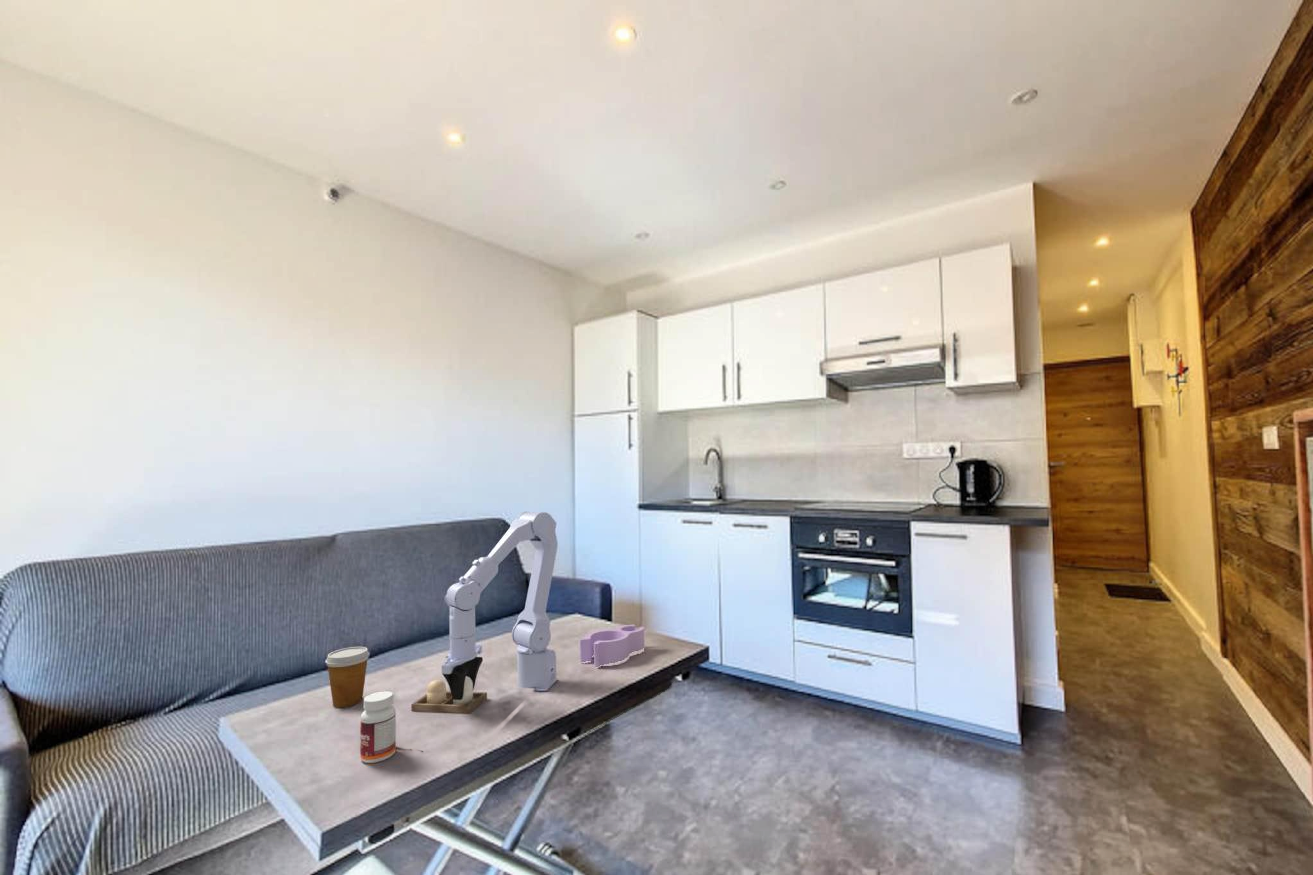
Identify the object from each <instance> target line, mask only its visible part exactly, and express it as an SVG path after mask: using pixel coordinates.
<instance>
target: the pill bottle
mask: <svg viewBox="0 0 1313 875" xmlns="http://www.w3.org/2000/svg"><path fill="white" fill-rule="evenodd" d="M393 704H394V693H393V692H392V691H387V690H385V691H377V692H374V693H370V694H368V695H367V696H365V697H364V698H363V709H364V710H363V712H362V713H361V715H360V724H359V725H360V727H359V728H360V732H359V733H360V736H359V737H360V738H359V739H360V740H359V741H360V742H359V743H360V745H359V746H360V747H359V750H360V751H359V753H360V756H359V758H360V760H361V762H363V763H366V764H374V763H379V762H382V761H385V760H388V759H389V758H391V757H392V756H393V755H394V754H395V753H396V749H397V748H396V744H397V743H396V742H397V741H396V736H397V735H396V734H397V733H396V732H397V731H396V730H397V728H396V726H397V723H396V722H397V721H396V720H397V718H396V713H397V711H396V708H395V706H393Z"/></svg>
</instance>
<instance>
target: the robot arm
mask: <svg viewBox="0 0 1313 875" xmlns="http://www.w3.org/2000/svg"><path fill="white" fill-rule="evenodd" d="M556 528H557V521H556V520H555V519H554V518H553V516H552V514H550V513H548V512H544V511H542V512H535V511H533V512H532V511H523V512H521V513H520V514H519V515H518V516H517V517H516V518H515V519H514V520H513V521H512V522H511V523H510V527H509V528H508V530H507V531H506V532H505V533H504V534H503V536H502V537H501V538H500V540H499V541H498V542H497V544H496V545H495V546H494V547H493V548H492V549H491V551H490V552H489V554H488V555H487V556H482V557H479V558H478V559H474V561H472V562H471V564H472V566H471V567H470V568H469V569H468V570H467V572H466V573H465V574H464V575H462V576H460V577H459V579H458V581H459V582H456V583H453V584H452V585H451V586H450V587H448V589H447V591H446V595H444V602H445V604H447V606H448V607H449V609H448V610H449V616H448V617H449V619H448V620H449V653H447V654H445V659H446V661H445V662H444V663H443V664H441V675H442V676H443V677H444V678H445V680H446V683H447V684H448V687H449V690H450V691H451V694H452V698H453V700H461V699H462V698H463V694H464V683H465V678H466V676H467V677H469V678H470V679H471V680H472V683H473V691H474V689H475V686H476V680H477V677H478V676H477V675H478V673H479V670H480V667H481V665H482V663H483V660H484V658H483V657H482V656H478V655H481V654H482V653H483V644H476V606H477V605H478V604H479V602H480V599H481V598H480V597H481V594H482V592H483V590H485V589H486V587H487V586H488V584H490V582H491V581H492V580H493V579H494V578H495V577H496V575H497V574H498V573H499V565H500V564H501V562H503V560H504V559H505V558H506V557H507V556H508V555H509V554H510V553H511V552H512V551H513V550H514V549H516V546H518V545H519V544H520V543H522V542H525V541H529V542H530V543H531V544H532V546H533V547H534V549H535V553H534V558H533V563H532V568H531V573H530V574H531V575H530V578H529V585H528V588H527V594H526V600H525V606H524V609H523V610H522V611H521V612H520V613H519V614H518V616H517V619H516V620H517V621H516V623H515V624H514V626H513V628H512V630H511V640H512V642H513V643H514V644H516V659H517V660H516V662H517V663H516V664H517V665H516V666H517V670H516V671H517V685H518V686H519V687H521V688H524V689H529V688H533V692H535V691H537V692H539V691H540V692H546V691H548V690H549V689H550V688H552V686H553V685H554V683H556V682H557V681H558V680H559V678H558V677H557V655H556V652H555V650H554V649H549V648H547V647H548V646H549V644H550V641H551V637H552V634H551V630H550V627H551V626H550V625H551V620H550V618H549V616H548V614H547V612H546V611H547V604H548V601H549V595H550V589H551V586H552V585H551V583H552V579H553V572H554V567H555V563H556V562H555V561H556V556H557V551H558V544H559V542H558V537H557V534H556Z"/></svg>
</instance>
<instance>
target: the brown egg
mask: <svg viewBox="0 0 1313 875" xmlns="http://www.w3.org/2000/svg"><path fill="white" fill-rule="evenodd" d="M446 691H447V686H446V682H444V680H442V679H434V680H432V681H431V682H429V684H428V685H427V687H426V694H427V704H442V703H443V702H444V701H446Z"/></svg>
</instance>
